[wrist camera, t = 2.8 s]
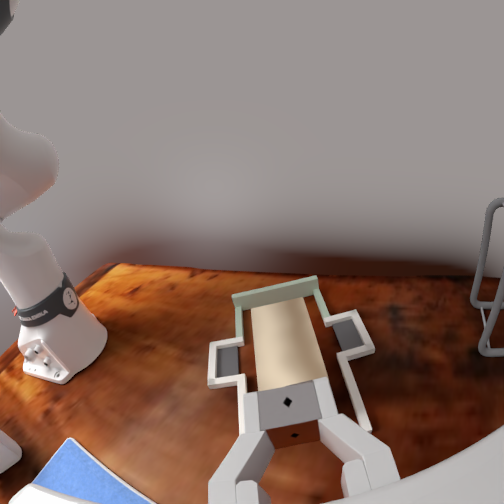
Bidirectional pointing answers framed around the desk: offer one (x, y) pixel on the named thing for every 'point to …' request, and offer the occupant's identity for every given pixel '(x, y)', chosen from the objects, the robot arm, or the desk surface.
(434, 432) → the desk surface
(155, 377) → the desk surface
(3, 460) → the photo printer
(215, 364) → the box
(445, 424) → the desk surface
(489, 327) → the newton's cradle
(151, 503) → the tablet computer
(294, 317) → the maple block
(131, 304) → the desk surface
